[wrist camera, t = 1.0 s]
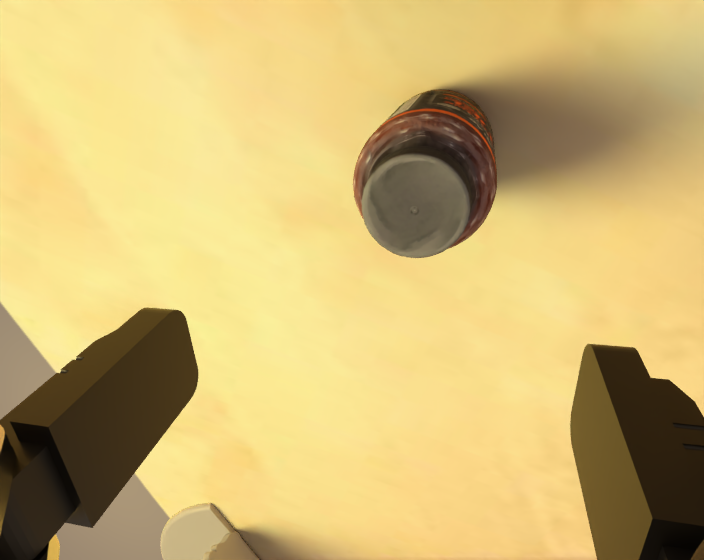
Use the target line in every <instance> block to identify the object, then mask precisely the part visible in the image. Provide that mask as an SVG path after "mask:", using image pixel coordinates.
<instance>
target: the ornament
mask: <svg viewBox="0 0 704 560" xmlns="http://www.w3.org/2000/svg"><path fill="white" fill-rule="evenodd" d="M161 553H162V557H163V560H260V559H259V558H258V557H257V556H256V555H255V553H254V552H253V551H252V550H251V549H250V548H249V547H248V545H247V544H246V543H245V542H244V541H243V540H242V538H241V536H240V534H239V533H238V532H236V531H235V530H234V529H233V528H232V527H231V526H230V524H229V523H228V522H227V521H226V520H225V519H224V517H223V516H222V515H221V514H220V513H219V512H218V510H217V509H216V508H215V507H214V506H213V505H212V504H211V503H204V504H198V505H194V506H191V507H188V508H185V509H183V510H181V511H179V512H178V513H176V514H175V515H173V516H172V517H171V518H170V519H169V520H168V522H167V523H166V525H165V527H164V529H163V531H162V535H161Z"/></svg>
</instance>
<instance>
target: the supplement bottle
mask: <svg viewBox="0 0 704 560" xmlns="http://www.w3.org/2000/svg"><path fill="white" fill-rule="evenodd" d="M353 188H354V197H355V201H356V204H357V207H358V209H359V212H360V214H361V216H362V218H363V219H364V222H365V225H366V227H367V229H368V231H369V233H370V234H371V235H372V237H373V238H374V239H375V240H376V241H377V242H378V243H379V244H380V245H381V246H382V247H384V248H386V249H387V250H389V251H390V252H392V253H394V254H397V255H400V256H405V257H411V258H424V257H429V256H433V255H436V254H439V253H441V252H443V251H445V250H446V249H448V248H451V247H453V246H456V245H458V244H459V243H461V242H463V241H464V240H466V239H467V238H469V237H470V236H471V235H472V234H473V233H474V232H475V231H476V230H477V229H478V228H479V227H480V226H481V225H482V223H483V222H484V220H485V219H486V217H487V215H488V213H489V211H490V209H491V207H492V204H493V201H494V198H495V194H496V188H497V171H496V161H495V153H494V140H493V134H492V129H491V127H490V124H489V122H488V119H487V118H486V116H485V114H484V112H483V111H482V110H481V109H480V107H479V106H478V105H477V104H476V103H475V102H474V101H472V100H471V99H469V98H468V97H466V96H464V95H462V94H460V93H457V92H453V91H450V90H432V91H427V92H424V93H421V94H418V95H416V96H414V97H412V98H411V99H409V100H408V101H406V102H405V103H403V104H402V105H401V106H400V107H399V108H398V109H397V110H396V111H395V112H394V113H393V114H392V115H391V116H390V117H389V118H388V119H387V120H386V121H385V122H384V123H383V124H382V125H381V126H380V127H379V128H378V129H377V130H376V131H375V132H374V133H373V134H372V136H371V137H370V138H369V139H368V141H367V142H366V144H365V145H364V147H363V149H362V151H361V153H360V155H359V157H358V160H357V163H356V167H355V171H354V179H353Z"/></svg>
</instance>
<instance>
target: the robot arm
mask: <svg viewBox="0 0 704 560" xmlns="http://www.w3.org/2000/svg"><path fill="white" fill-rule="evenodd" d="M197 382H198V367H197V363H196V359H195V354H194V350H193V346H192V342H191V337H190V333H189V329H188V325H187V321H186V318H185V316H184V314H183V313H182V312H181V311H179V310H170V309H158V308H143V309H141V310H140V311H138V312H137V313H136V314H135V315H134V316H133V317H131V318H130V319H129V320H128V321H127V322H126V323H124V324H123V325H122V326H121V327H120V328H118V329H117V330H115V331H114V332H112V333H110V334H108V335H106V336H104V337H102V338H100V339H98V340H96V341H95V342H93V343H92V344H91V345H90V346H89V347H87V348H86V349H85V350H84V351H83V352H81V353H80V354H79V355H78V356H77V359H76V360H72V361H71V362H69V363H68V364H67V365H66V366H65V367H63V368H62V369H61V372H60V373H56V374H55V375H54V376H53V377H51V378H50V379H49V380H48V381H47V382H45V383H44V384H43V385H42V386H41V387H39V388H38V389H37V390H36V391H34V392H33V393H32V394H31V395H30V396H28V397H27V398H26V399H25V400H24V401H23V402H21V403H20V404H19V405H18V406H16V407H15V408H14V409H13V410H12V411H10V412H9V413H8V414H7V415H6V416H5V417H3V418H2V419H1V420H0V560H59V550H60V545H59V541H58V538H57V536H56V533H57V531H58V530H59V529H60V528H61V527H62V526H63V524H64V523H71V524H76V525H81V526H86V527H91V528H93V526H94V525H95V524H96V522H97V521H98V520H99V519H100V517H101V516H102V515H103V513H104V512H105V511H106V509H107V508H108V507H109V505H110V504H111V503H112V501H113V500H114V499H115V497H116V496H117V495H118V494H119V492H120V491H121V490H122V488H123V487H124V486H125V484H126V483H127V482H128V481H129V479H130V478H131V477H132V475H133V474H134V473H135V471H136V470H137V469H138V467H139V466H140V465H141V463H142V462H143V461H144V460H145V458H146V457H147V456H148V454H149V453H150V452H151V450H152V449H153V448H154V446H155V445H156V444H157V443H158V441H159V440H160V439H161V437H162V436H163V435H164V433H165V432H166V431H167V429H168V428H169V427H170V425H171V424H172V423H173V422H174V420H175V419H176V418H177V416H178V415H179V414H180V412H181V411H182V410H183V408H184V407H185V406H186V405H187V403H188V402H189V401H190V399H191V398H192V396H193V394H194V392H195V390H196V387H197ZM570 427H571V442H572V448H573V452H574V457H575V461H576V466H577V470H578V475H579V479H580V484H581V488H582V493H583V497H584V502H585V506H586V511H587V515H588V520H589V524H590V529H591V533H592V538H593V542H594V547H595V551H596V556H597V560H704V417H703V415H702V414H701V412H700V410H699V408H698V407H697V405H696V403H695V402H694V401H693V400H692V399H691V398H690V397H689V396H687V395H686V394H685V393H684V392H683V391H682V390H680V389H679V388H678V387H677V386H676V385H675V384H673V383H672V382H671V381H670V380H666V379H656V378H650V376H649V374H648V372H647V369H646V367H645V365H644V363H643V361H642V359H641V357H640V355H639V353H638V351H637V350H636V349H635V348H633V347H620V346H608V345H595V344H587V345H586V347H585V349H584V352H583V356H582V361H581V366H580V371H579V376H578V381H577V386H576V391H575V396H574V401H573V406H572V412H571V425H570Z"/></svg>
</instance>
